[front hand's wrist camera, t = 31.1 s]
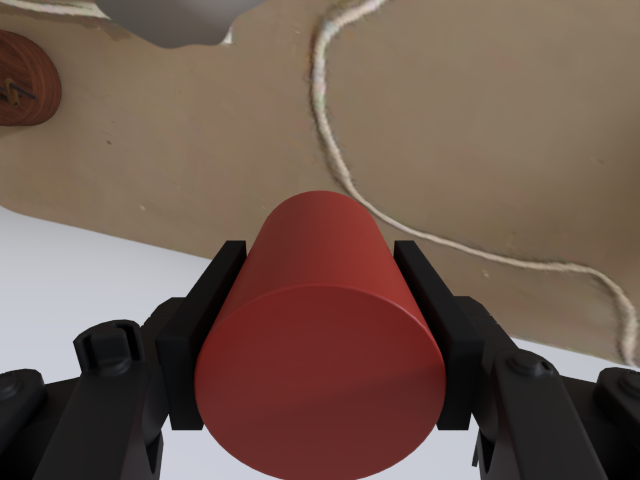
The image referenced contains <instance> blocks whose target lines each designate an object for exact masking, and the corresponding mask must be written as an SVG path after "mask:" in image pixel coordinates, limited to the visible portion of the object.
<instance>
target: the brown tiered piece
mask: <svg viewBox="0 0 640 480" xmlns="http://www.w3.org/2000/svg"><path fill="white" fill-rule="evenodd" d="M60 98H61V85H60V80H59V76H58V74H57V71H56V69H55V67H54V65H53V63H52V61H51V60H50V59H49V57H48V56H47V55H46V53H45V52H44V51H43V50H42V49H41V48H40V47H39V46H38V45H36V44H35V43H34V42H32V41H31V40H29V39H28V38H26V37H24V36H21V35H19V34H16V33H12V32H8V31H4V30H0V125H1V126H29V125H37V124H41V123H43V122H45V121H47V120H48V119H50V118H51V117H52V116H53V115H54V113H55V112H56V110H57V108H58V106H59V103H60Z"/></svg>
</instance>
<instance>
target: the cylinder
mask: <svg viewBox="0 0 640 480" xmlns="http://www.w3.org/2000/svg"><path fill="white" fill-rule="evenodd" d="M446 380H447V379H446V371H445V365H444V361H443V358H442V354H441V352H440V350H439V348H438V346H437V343H436V341H435V339H434V337H433V335H432V333H431V331H430V329H429V327H428V325H427V323H426V321H425V320H424V318H423V316H422V314H421V312H420V310H419V308H418V306H417V304H416V302H415V300H414V298H413V296H412V294H411V292H410V290H409V288H408V286H407V284H406V282H405V280H404V278H403V276H402V274H401V272H400V270H399V268H398V266H397V264H396V262H395V260H394V258H393V256H392V254H391V252H390V250H389V248H388V246H387V244H386V242H385V240H384V238H383V236H382V234H381V232H380V230H379V228H378V226H377V224H376V222H375V220H374V219H373V218H372V216H371V215H370V213H369V212H368V211H367V210H366V209H365V208H364V207H363V206H362V205H360V204H359V203H358V202H356V201H355V200H353V199H351V198H349V197H347V196H345V195H342V194H339V193H336V192H330V191H310V192H305V193H301V194H298V195H295V196H293V197H291V198H289V199H287V200H285V201H284V202H283V203H281V204H280V205H278V206H277V207H276V208H275V209H274V210H273V211H272V212H271V214H270V215H269V216H268V217H267V219H266V221H265V222H264V224H263V226H262V228H261V230H260V232H259V234H258V236H257V238H256V240H255V242H254V244H253V246H252V248H251V250H250V252H249V254H248V256H247V258H246V260H245V262H244V264H243V266H242V268H241V270H240V272H239V274H238V276H237V278H236V280H235V282H234V284H233V286H232V288H231V290H230V292H229V294H228V296H227V298H226V300H225V302H224V304H223V306H222V308H221V310H220V312H219V314H218V316H217V318H216V320H215V322H214V324H213V326H212V328H211V330H210V331H209V333H208V335H207V337H206V339H205V341H204V343H203V346H202V348H201V350H200V353H199V355H198V358H197V362H196V366H195V371H194V392H195V400H196V404H197V407H198V411H199V413H200V416H201V418H202V420H203V422H204V424H205V426H206V427H207V429H208V431H209V432H210V434H211V435H212V436H213V437H214V439H215V440H216V441H217V442H218V443H219V444H220V445H221V446H222V447H223V448H224V449H225V450H226V451H227V452H228V453H229V454H231V455H232V456H233V457H235V458H236V459H237V460H239V461H240V462H242V463H244V464H246V465H247V466H249V467H251V468H252V469H255V470H257V471H259V472H262V473H264V474H266V475H269V476H273V477H276V478H279V479H283V480H357V479H361V478H365V477H368V476H371V475H373V474H376V473H379V472H381V471H383V470H385V469H387V468H389V467H391V466H393V465H395V464H396V463H398V462H400V461H401V460H403V459H404V458H406V457H407V456H408V455H409V454H411V453H412V452H413V451H414V450H415V449H416V448H417V447H418V446H419V445H420V444H421V443H422V442H423V441H424V440H425V439H426V438H427V436H428V435H429V434H430V432H431V431H432V430H433V428H434V426H435V424H436V423H437V421H438V419H439V416H440V414H441V411H442V408H443V405H444V400H445V395H446Z"/></svg>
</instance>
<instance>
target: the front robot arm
mask: <svg viewBox="0 0 640 480" xmlns="http://www.w3.org/2000/svg"><path fill="white" fill-rule="evenodd" d="M246 258H247V253H246V241H226V242H225V244H224V245H223V246H222V248H221V249H220V251H219V252H218V253H217V255H216V256H215V258H214V259H213V260H212V262H211V263H210V264H209V266H208V267H207V269H206V270H205V271H204V273H203V274H202V275H201V277H200V278H199V280H198V281H197V283H196V284H195V285H194V287H193V288H192V289H191V291H190V292H189V293H188V295H187V296H186V297H172V298H170V299H168V300H167V301H165V302H163V303H162V304H160V305H159V306H158V307H157V308H156V309H155V311H154V312H153V313H152V314H151V316H150V317H149V318H148V319H147V320H146V321H145V322H144V325H142V326H141V327H140V326H139V324H137V323H136V322H135V321H131V320H112V321H108V322H104V323H100V324H98V325H95V326H93V327H91V328H89V329H87V330H85V331H84V332H82V333H81V334H79V335H78V336H77V338H76V339H75V340H74V341H73V344H74V347H75V351H76V354H77V357H78V361H79V364H80V368H81V371H82V373H81V375H80V377H77V378H73V379H68V380H63V381H59V382H54V383H50V384H44V381H43V378H42V375H41V373H39V372H38V371H37V370H33V369H20V370H14V371H9V372H5V373H2V374H0V480H159V478H160V469H161V461H162V452H163V444H164V443H163V436H162V431H161V428H162V426H163V424H164V422H165V420H166V418H167V416H168V414H169V417H170V422H171V427H172V430H202V428H203V425H204V422H203V420H202V418H201V416H200V413H199V411H198V407H197V404H196V400H195V392H194V371H195V366H196V362H197V358H198V355H199V353H200V350H201V348H202V346H203V343H204V341H205V339H206V337H207V335H208V333H209V331H210V330H211V328H212V326H213V324H214V322H215V320H216V318H217V316H218V314H219V312H220V310H221V308H222V306H223V304H224V302H225V300H226V298H227V296H228V294H229V292H230V290H231V288H232V286H233V284H234V282H235V280H236V278H237V276H238V274H239V272H240V270H241V268H242V266H243V264H244V262H245V260H246ZM393 258H394V260H395V262H396V264H397V266H398V268H399V270H400V272H401V274H402V276H403V278H404V280H405V282H406V284H407V286H408V288H409V290H410V292H411V294H412V296H413V298H414V300H415V302H416V304H417V306H418V308H419V310H420V312H421V314H422V316H423V318H424V320H425V321H426V323H427V325H428V327H429V329H430V331H431V333H432V335H433V337H434V339H435V341H436V343H437V346H438V348H439V350H440V352H441V354H442V358H443V361H444V365H445V371H446V379H447V380H446V395H445V400H444V405H443V408H442V411H441V414H440V416H439V419H438V421H437V423H436V425H437V428H438V430H468V429H469V424H470V418H471V413H472V414H473V416H474V418H475V420H476V422H477V424H478V426H479V432H478V436H477V441H476V446H475V451H474V456H473V462H472V466H474V467H477V463H478V460H479V468H480V477H481V480H640V372H636V371H634V370H630V369H625V368H618V367H612V368H605V369H604V370H602V371H601V372H600V373H599V376H598V379H597V382H596V383H594V382H589V381H584V380H579V379H574V378H570V377H565V376H562V375H559V372H558V371H557V370H556V368H555V367H554V366H553V364H551V363H550V362H549V361H547V360H546V359H545V358H543V357H541V356H539V355H537V354H535V353H533V352H530V351H527V350H523V349H519V348H518V347H517V346H516V344H515V343H514V342H513V341H512V340H511V338H510V337H509V336H508V335H507V334H506V333H505V331H504V330H503V329H502V328H501V327H500V325H499V324H497V322H496V321H495V319H494V318H493V317H492V316H490V313H489V312H488V311H487V310H486V309H485V308H484V306H483V305H482V304H480V303H479V302H477V301H476V300H474V299H472V298H471V297H469V296H453V294H452V293H451V292H450V290H449V289H448V288H447V286H446V285H445V283H444V282H443V281H442V279H441V278H440V277H439V275H438V274H437V272H436V271H435V270H434V268H433V267H432V265H431V264H430V263H429V261H428V260H427V259H426V257H425V256H424V254H423V253H422V252H421V250H420V249H419V248H418V246H417V245H416V243H415V242H414V241H395V243H394V256H393Z"/></svg>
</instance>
